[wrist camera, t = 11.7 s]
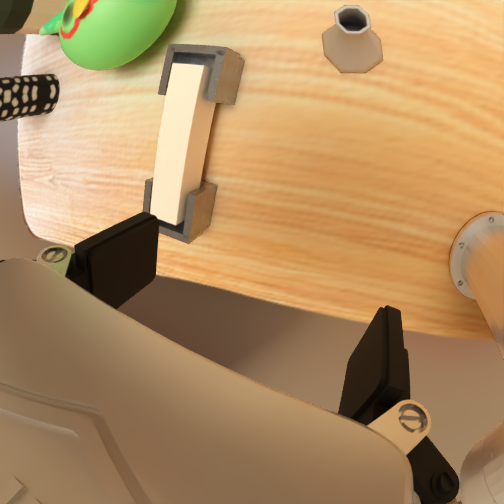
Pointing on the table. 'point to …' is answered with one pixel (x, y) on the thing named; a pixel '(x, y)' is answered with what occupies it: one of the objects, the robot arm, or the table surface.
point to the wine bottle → (27, 15)
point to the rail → (181, 141)
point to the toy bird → (109, 30)
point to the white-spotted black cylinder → (27, 95)
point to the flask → (352, 41)
